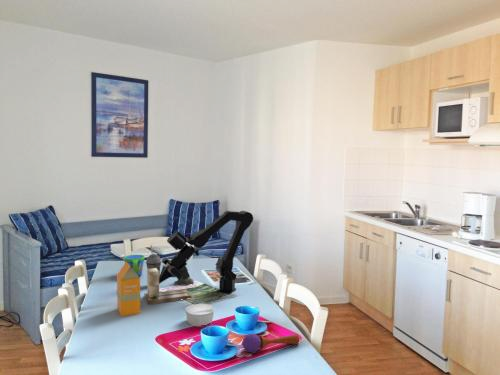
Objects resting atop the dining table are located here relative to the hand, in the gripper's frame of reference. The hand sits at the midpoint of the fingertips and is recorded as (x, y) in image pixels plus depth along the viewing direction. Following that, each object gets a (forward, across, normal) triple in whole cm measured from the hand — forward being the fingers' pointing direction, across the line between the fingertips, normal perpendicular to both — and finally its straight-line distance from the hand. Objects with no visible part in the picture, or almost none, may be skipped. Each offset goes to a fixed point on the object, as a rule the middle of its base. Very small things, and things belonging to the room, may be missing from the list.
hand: (158, 282), depth 189 cm
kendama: (-13, -61, -24) cm, 67 cm away
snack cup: (+9, +40, -2) cm, 41 cm away
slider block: (+5, -1, -2) cm, 6 cm away
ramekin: (-2, -31, -12) cm, 34 cm away
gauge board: (+2, 0, -8) cm, 8 cm away
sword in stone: (-6, +19, -17) cm, 26 cm away
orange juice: (+15, -10, +4) cm, 19 cm away
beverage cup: (+4, +20, -6) cm, 21 cm away
